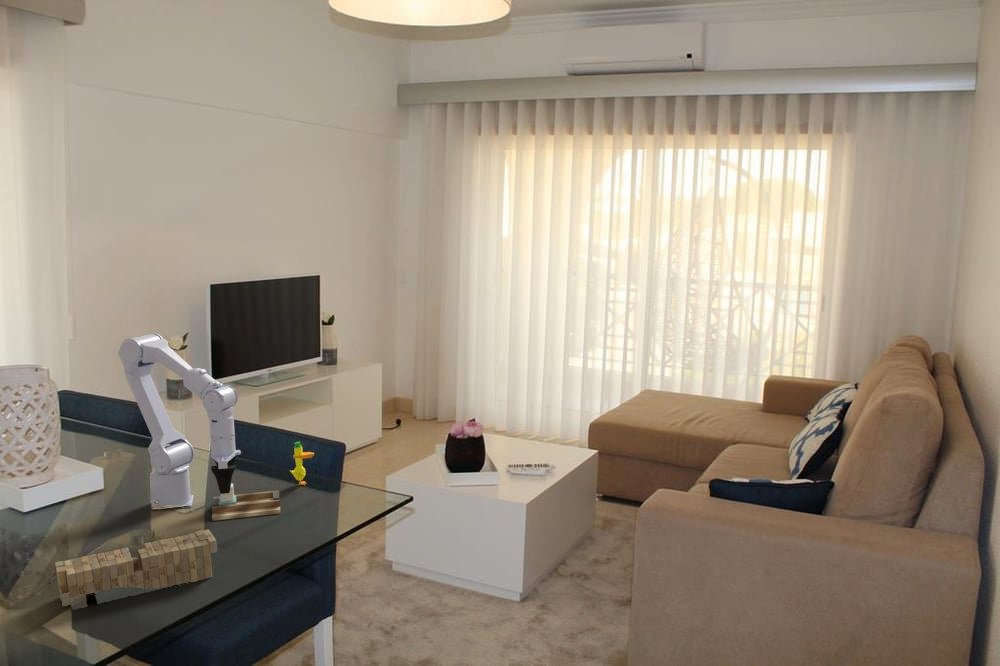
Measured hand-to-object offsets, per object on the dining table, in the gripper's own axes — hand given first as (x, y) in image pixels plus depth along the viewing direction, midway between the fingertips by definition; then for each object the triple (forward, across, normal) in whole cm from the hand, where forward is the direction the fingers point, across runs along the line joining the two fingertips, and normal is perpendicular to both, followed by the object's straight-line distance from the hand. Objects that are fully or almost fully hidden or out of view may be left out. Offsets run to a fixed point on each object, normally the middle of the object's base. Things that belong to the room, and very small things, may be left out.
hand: (225, 487), depth 210 cm
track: (+6, 0, -5) cm, 8 cm away
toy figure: (+6, +14, -19) cm, 25 cm away
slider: (+5, 0, 0) cm, 5 cm away
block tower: (+6, -39, +15) cm, 42 cm away
